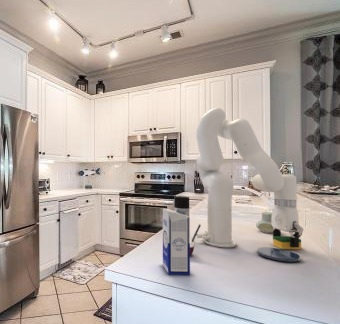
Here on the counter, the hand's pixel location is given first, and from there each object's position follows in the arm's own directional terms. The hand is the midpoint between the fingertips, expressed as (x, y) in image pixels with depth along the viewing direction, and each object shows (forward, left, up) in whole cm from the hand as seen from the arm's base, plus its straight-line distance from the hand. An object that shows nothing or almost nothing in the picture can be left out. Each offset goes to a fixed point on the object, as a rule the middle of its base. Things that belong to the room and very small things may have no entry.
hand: (285, 243), depth 106 cm
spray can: (-41, +9, -2) cm, 42 cm away
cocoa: (-46, -11, -2) cm, 47 cm away
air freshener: (+10, +25, -2) cm, 27 cm away
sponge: (+1, 0, -1) cm, 2 cm away
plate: (-12, -12, -1) cm, 17 cm away
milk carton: (-55, -26, -2) cm, 61 cm away
